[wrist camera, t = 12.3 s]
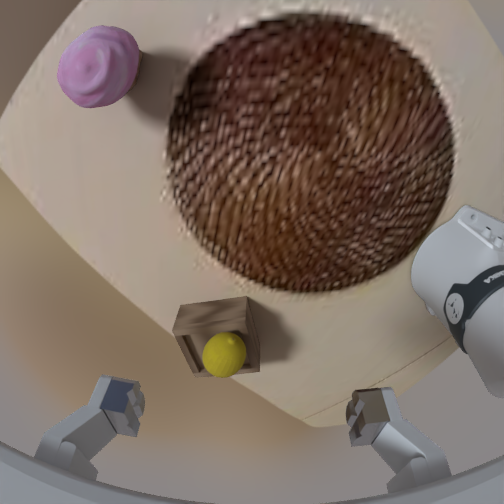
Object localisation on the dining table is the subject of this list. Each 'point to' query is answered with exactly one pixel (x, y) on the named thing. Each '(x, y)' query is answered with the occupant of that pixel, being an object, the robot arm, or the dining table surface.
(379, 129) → the dining table surface
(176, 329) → the walnut tray
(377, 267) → the dining table surface
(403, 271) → the dining table surface
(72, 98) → the cupcake
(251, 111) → the dining table surface
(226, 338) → the lemon
